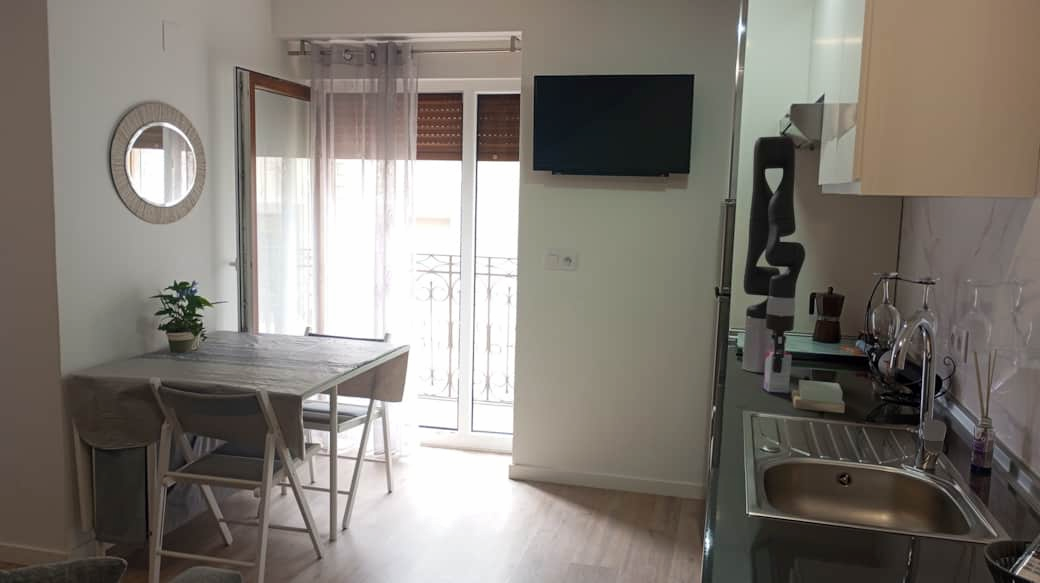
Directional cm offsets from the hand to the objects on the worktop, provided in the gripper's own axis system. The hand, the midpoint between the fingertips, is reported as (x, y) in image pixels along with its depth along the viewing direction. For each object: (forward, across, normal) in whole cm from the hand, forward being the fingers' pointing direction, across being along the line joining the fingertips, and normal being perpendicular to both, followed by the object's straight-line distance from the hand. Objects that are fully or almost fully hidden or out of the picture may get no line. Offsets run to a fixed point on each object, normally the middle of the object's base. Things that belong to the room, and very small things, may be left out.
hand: (776, 369), depth 220 cm
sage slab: (+4, +11, +11) cm, 16 cm away
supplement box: (+7, 0, 0) cm, 7 cm away
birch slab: (+7, +10, +10) cm, 16 cm away
